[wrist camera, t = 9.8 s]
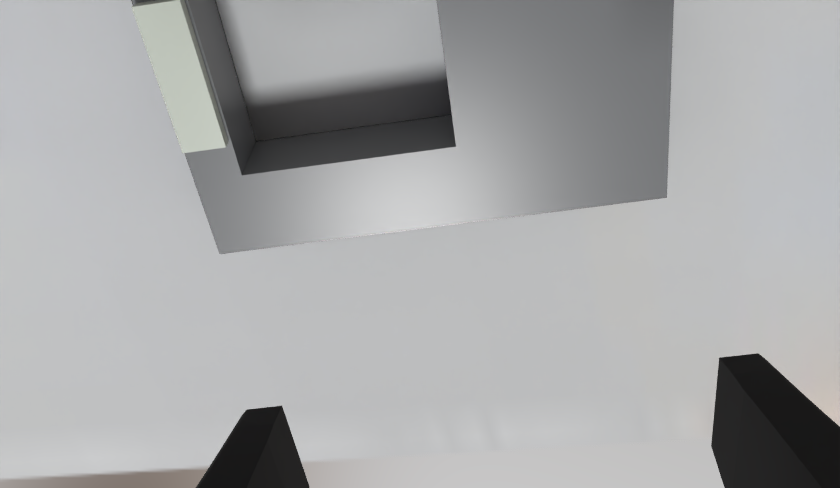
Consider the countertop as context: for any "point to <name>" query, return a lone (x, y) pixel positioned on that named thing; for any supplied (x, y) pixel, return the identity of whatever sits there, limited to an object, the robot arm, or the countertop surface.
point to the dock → (433, 125)
